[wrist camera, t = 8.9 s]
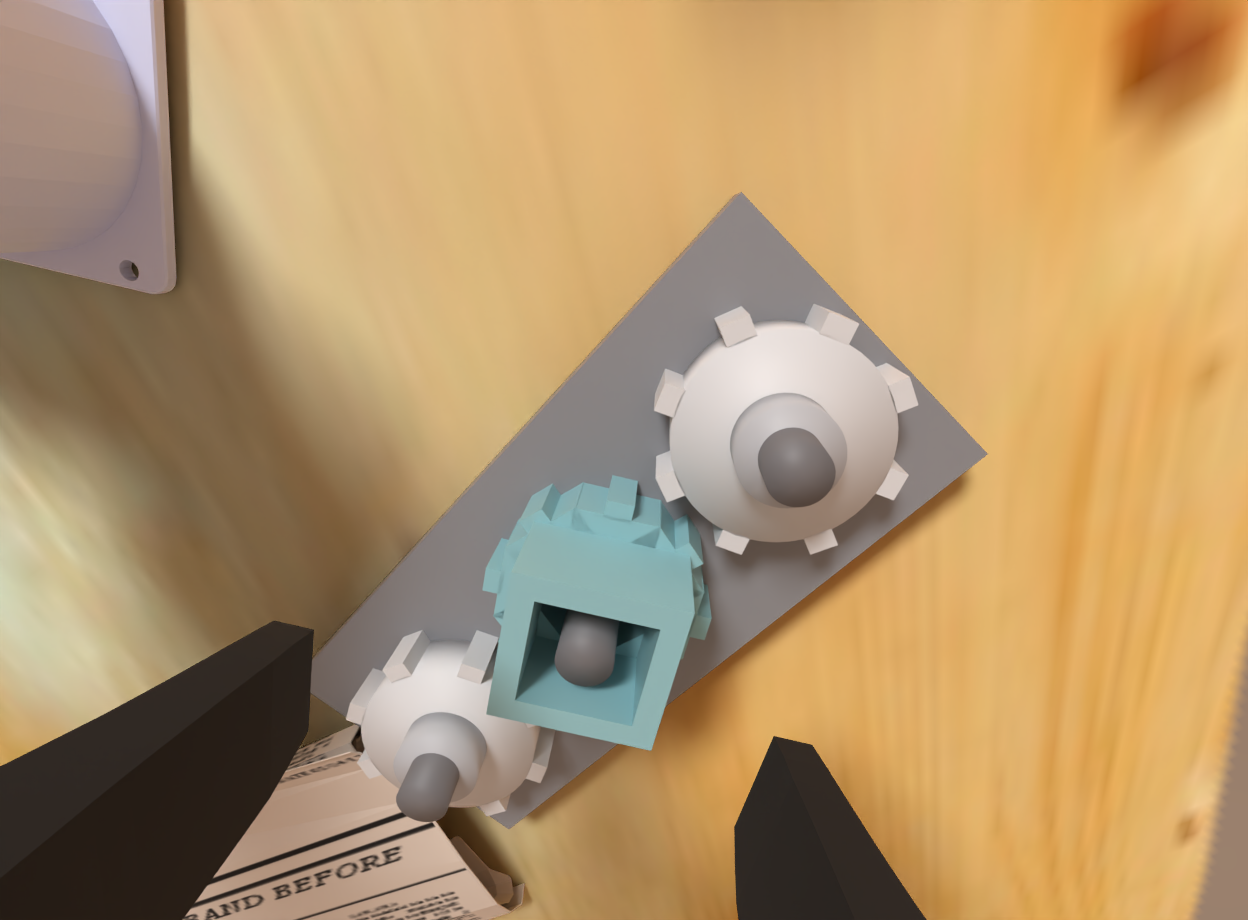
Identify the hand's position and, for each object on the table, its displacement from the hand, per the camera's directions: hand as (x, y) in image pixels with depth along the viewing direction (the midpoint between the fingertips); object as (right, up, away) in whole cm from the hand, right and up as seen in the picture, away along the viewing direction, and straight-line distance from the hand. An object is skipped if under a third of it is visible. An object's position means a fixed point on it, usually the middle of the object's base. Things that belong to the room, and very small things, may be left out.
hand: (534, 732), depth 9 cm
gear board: (+1, +1, +10) cm, 10 cm away
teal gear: (+1, +1, +8) cm, 8 cm away
